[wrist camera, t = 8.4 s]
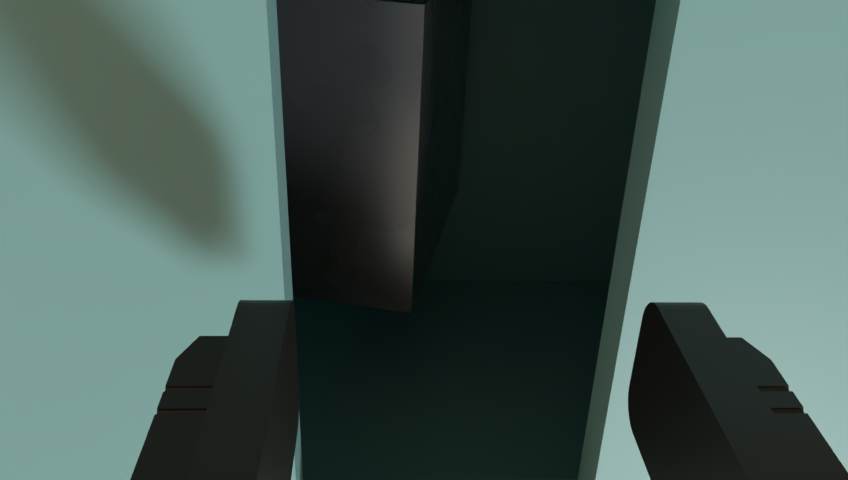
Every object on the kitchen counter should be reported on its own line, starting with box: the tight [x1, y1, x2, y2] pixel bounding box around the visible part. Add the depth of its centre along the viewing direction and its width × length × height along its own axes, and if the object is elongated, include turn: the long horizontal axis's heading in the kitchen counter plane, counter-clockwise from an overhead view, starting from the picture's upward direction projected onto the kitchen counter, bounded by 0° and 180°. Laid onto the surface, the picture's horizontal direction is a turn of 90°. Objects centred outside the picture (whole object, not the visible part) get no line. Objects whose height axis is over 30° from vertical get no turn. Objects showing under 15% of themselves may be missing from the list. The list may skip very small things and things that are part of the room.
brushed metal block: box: [276, 0, 472, 313], centre depth 20 cm, size 7×3×7 cm, turn 177°
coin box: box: [0, 0, 848, 480], centre depth 19 cm, size 16×16×13 cm
